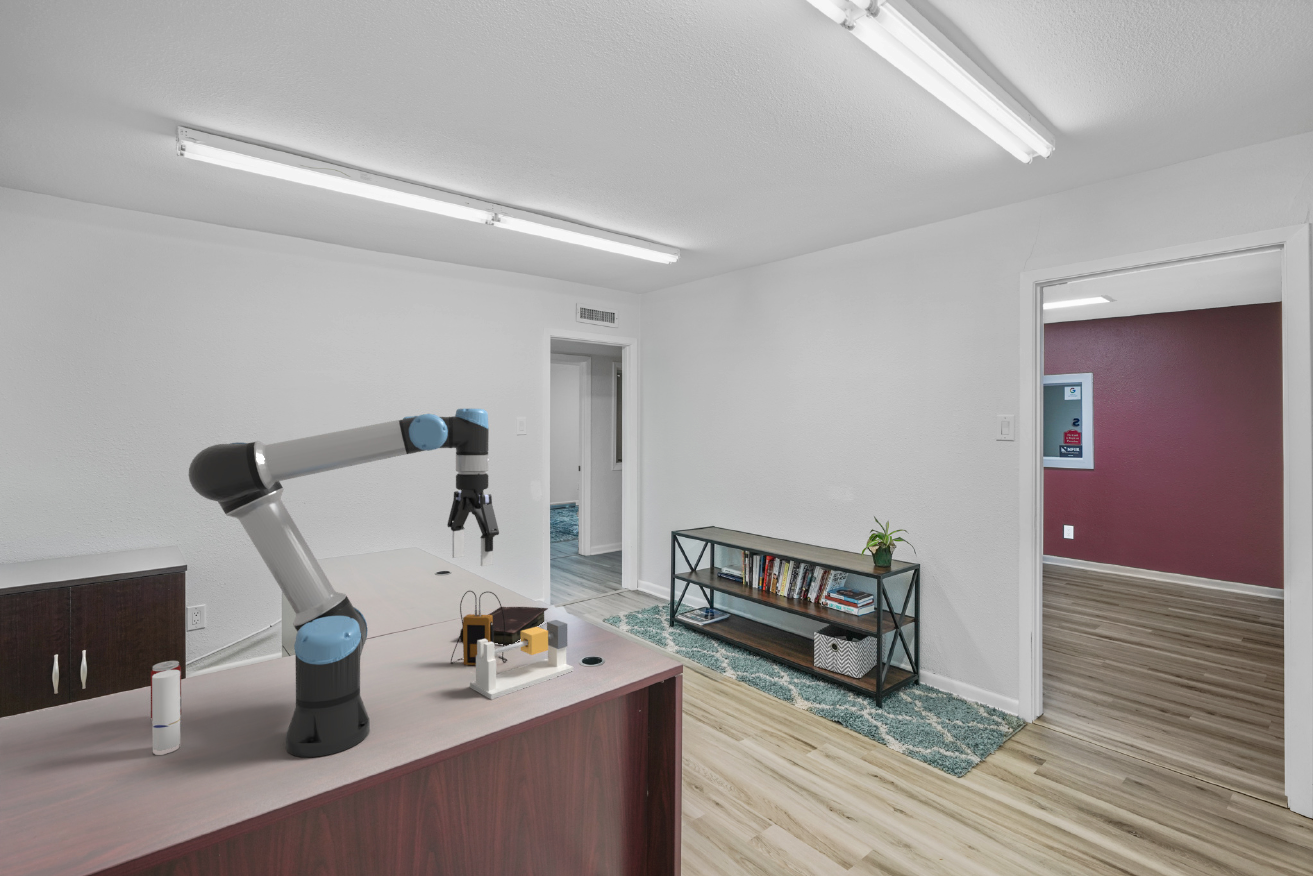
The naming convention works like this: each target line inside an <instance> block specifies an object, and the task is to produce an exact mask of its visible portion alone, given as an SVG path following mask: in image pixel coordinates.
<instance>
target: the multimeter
mask: <svg viewBox="0 0 1313 876" xmlns="http://www.w3.org/2000/svg"><path fill="white" fill-rule="evenodd" d="M469 592H470V593H472V594H474V597H475V602H474V603H477V594H476V593H475V592H474V591H473V590H467V591H466V592H465V593H464V594H463V596H462V598H461V601H460V605H459V612H460V617H461V624H462V625H461V626H462V628H461V629H462V631H463V642H462V644H463V646H462V649H463V650H462V651H463V654H462V655H463V657H462V658H464V659H462V658H458V659H457V660H458V661H460V659H461V660H463V665H465V666H470V665H471V666H476V655H477V641H478V640H482V639H487V640H488V642H493V643H494V629H493V616H492V615H488V614H482V611H481V610H482V609H481V597H482V595H483V594H486V593H490V594H492V595H494V596H495V598H496V599H497V601H498V603H499V607H501V610H502V607H503V606H502V604H501V601H500V599H499V598H498V596H497V595H496V594H495V593H494V592H492V591H484V592H482V593H481V594H480V596H479V599H478V603H479V604H475V608H474V613H473V614H471V613H469V614H466V615H465V616H463V615H462V602H463V600H464V598H465V596H466V595H467V593H469ZM477 607H478V608H477ZM502 614H503V610H502ZM503 620H504V614H503ZM462 631H461V630H460V632H461V633H462ZM461 633H459V636H458V639H457V641H456V644H455V646H454V650H453V652H452V655H451V659H450V664H454V663H453V662H454V661H453V657H454V654H455V651H456V649H457V646H458V643H459V641H460V636H461ZM504 637H505V620H504ZM504 637H503V646H502V647H504ZM495 656H496V657H497V656H498V658H501V660H502V663H507V662H508V659H507V658H506V657H504V652H501V655H498V654H495ZM452 661H453V662H452ZM506 661H507V662H506Z"/></svg>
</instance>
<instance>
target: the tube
mask: <svg viewBox="0 0 1313 876" xmlns="http://www.w3.org/2000/svg"><path fill="white" fill-rule="evenodd" d="M151 723H152V728H151V729H152V750H153V749H154V750H157V751H162V750H166V749H170V748H171V749H172V748H173V747H176V746H177V745H179V744H180V745H181V715H180V671H179V670H168V671H163V672H159V673H156V674H154V675H153V676H152V721H151Z"/></svg>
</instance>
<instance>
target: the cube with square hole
mask: <svg viewBox="0 0 1313 876" xmlns="http://www.w3.org/2000/svg"><path fill="white" fill-rule="evenodd" d="M526 640H528V645H526V646H522V647H520V651H521V652H524V653H526V654H528V655H531V656H533V655H538V654H540V653H544V652H548V631H547V629H545V628H542V627H534V628H530V629H526V630H522V631H521V642H522V641H526Z"/></svg>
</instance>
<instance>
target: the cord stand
mask: <svg viewBox="0 0 1313 876" xmlns="http://www.w3.org/2000/svg"><path fill="white" fill-rule="evenodd" d="M546 630H547V631H548V650H547V658H545V659H541V660H538V661H535V662H531V663H529V664H525V665H521V666H519V667H515V668H513V669H509V670H506V671H503V672H499V673H497V659H496V658H495V656H496V655H498V654H502V652H503V653H505V652H508V651H512V650H514V649H518V648H521V647H522V646H526V645H528V640H526V641H522V642H519V643H515V644H511V645H508V646H504V647H503V646H501V647H498V648H495V647H496V645H495V643H493V642H488V640H487V639H482V640H478V641H477V655H476V665H475V680H473V681H471V682H469V688H471V689H472V690H474V691H475V692H477V693H479V694H481V695H483V696H484V697H486V698H487V699H489V700H494V699H497V698H499V697H503V696H506V695H509V694H511V693H514V692H518V691H520V690H523V688H524V689H527V688H529V686H530V687H532V686H535V685H539V684H541V683H544V682H546V681H550V680H552V679H556V678H558V677H557V676H559V677H561V675H562V676H564V675H563V674H565V675H567V674H566V673H568V672H571V671H573V672H574V666H572V665H570V664H568V663H567V647H568V623H566V622H564V621H561V620H558V619H553V620H549V621H548V622H547V623H546ZM495 654H496V655H495ZM571 673H572V672H571ZM568 674H569V673H568ZM549 679H550V680H549ZM526 687H527V688H526ZM517 690H518V691H517Z"/></svg>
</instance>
